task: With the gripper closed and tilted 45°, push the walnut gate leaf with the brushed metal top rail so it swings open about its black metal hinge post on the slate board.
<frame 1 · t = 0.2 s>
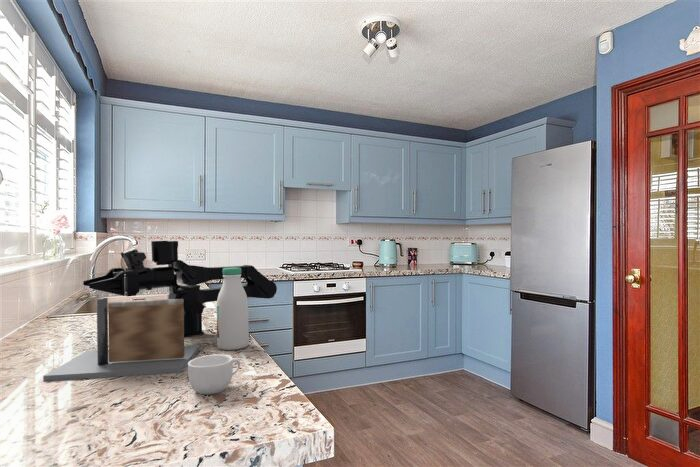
hand: (86, 284, 104), 17 cm above the countertop, tool horizontal, fingers open, 9 cm apart
milk bottle: (233, 347, 105), on the countertop
gate leaf: (147, 329, 91), point 8 cm above the countertop, hinge at 0.0°
teacup: (216, 389, 76), on the countertop
hinge post: (103, 368, 89), resting on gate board
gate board: (130, 363, 93), on the countertop
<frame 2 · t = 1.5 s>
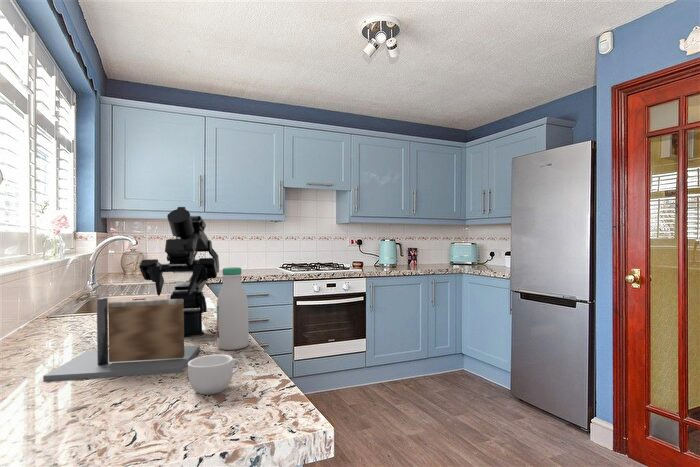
hand: (173, 294, 105), 14 cm above the countertop, tool tilted 45°, fingers open, 7 cm apart
nothing on the countertop moved.
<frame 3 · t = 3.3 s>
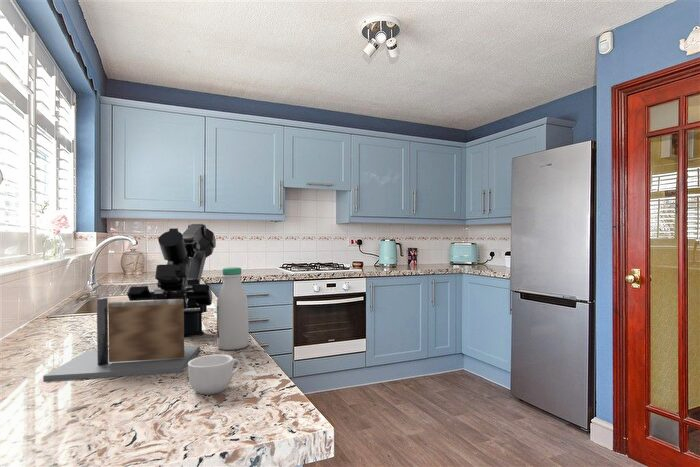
hand: (164, 324, 97), 8 cm above the countertop, tool tilted 45°, fingers closed
nothing on the countertop moved.
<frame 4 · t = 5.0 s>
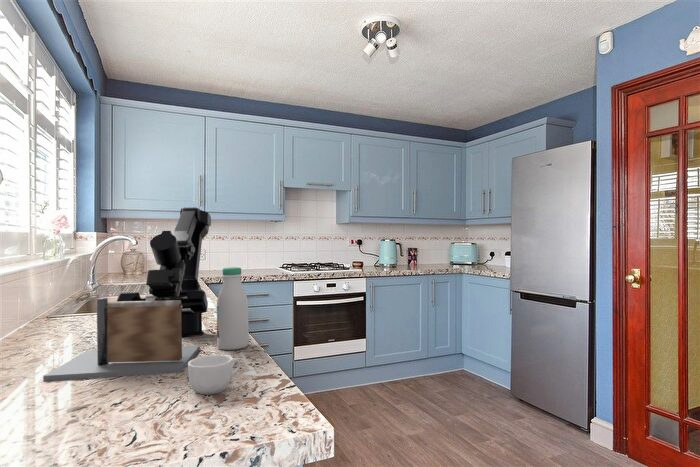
hand: (156, 334, 91), 7 cm above the countertop, tool tilted 45°, fingers closed, pressing on gate leaf
gate leaf: (145, 330, 89), point 8 cm above the countertop, hinge at 6.7°, touching gripper
everything else where it was.
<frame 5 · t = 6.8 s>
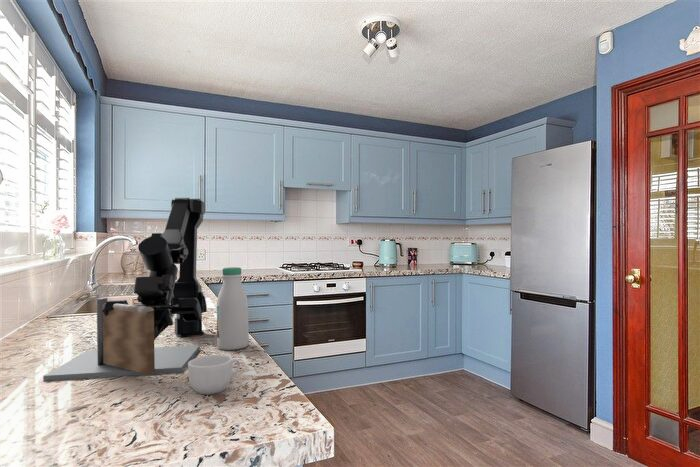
hand: (145, 346, 84), 6 cm above the countertop, tool tilted 45°, fingers closed
gate leaf: (127, 336, 85), point 8 cm above the countertop, hinge at 38.3°, touching gripper
everything else where it was.
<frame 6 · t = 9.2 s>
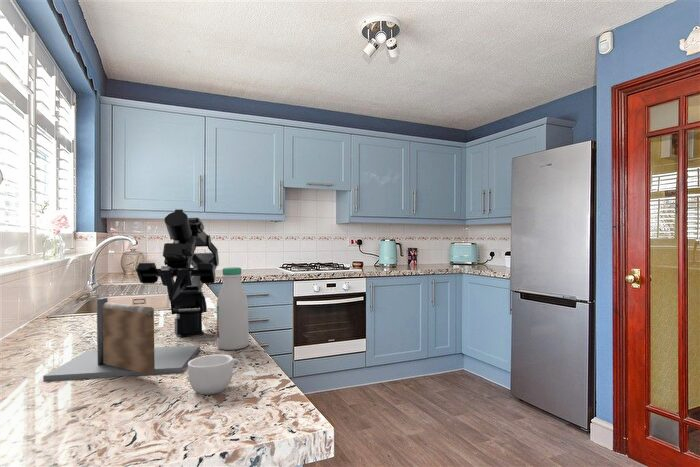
hand: (170, 299, 103), 13 cm above the countertop, tool tilted 45°, fingers closed
gate leaf: (127, 336, 85), point 8 cm above the countertop, hinge at 38.3°
everything else where it was.
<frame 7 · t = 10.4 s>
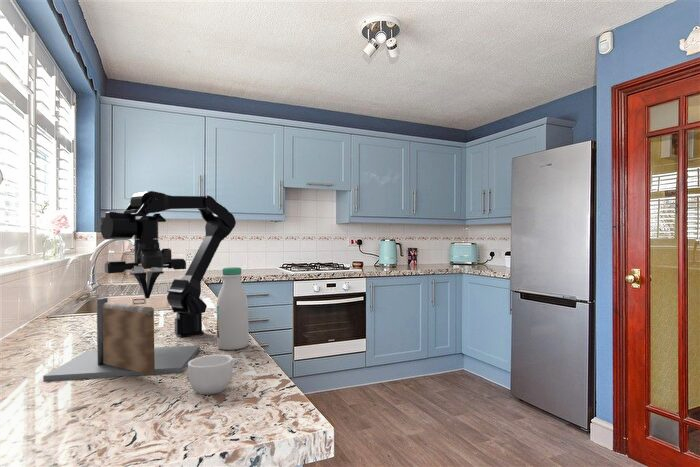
hand: (147, 298, 110), 12 cm above the countertop, tool pointing down, fingers closed
nothing on the countertop moved.
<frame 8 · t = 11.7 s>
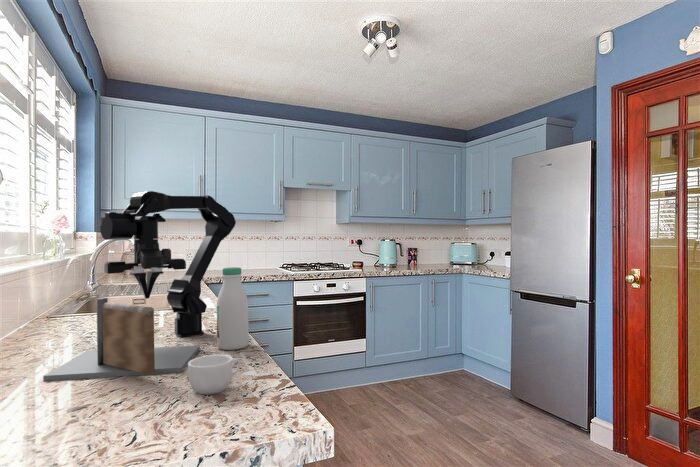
hand: (147, 298, 110), 12 cm above the countertop, tool pointing down, fingers closed
nothing on the countertop moved.
at the end: gate leaf at +38° (first picture: +0°); milk bottle moved 0.2 cm from its start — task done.
